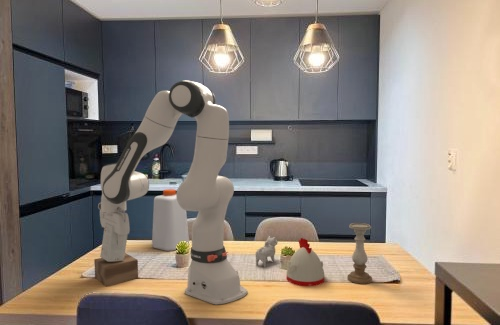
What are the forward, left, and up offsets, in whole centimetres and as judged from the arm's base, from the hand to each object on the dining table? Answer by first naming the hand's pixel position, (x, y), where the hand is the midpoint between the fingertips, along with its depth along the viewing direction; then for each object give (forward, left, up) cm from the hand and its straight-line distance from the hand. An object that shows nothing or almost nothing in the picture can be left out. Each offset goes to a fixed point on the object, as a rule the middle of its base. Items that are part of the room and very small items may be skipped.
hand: (115, 242), depth 139 cm
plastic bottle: (+24, -36, -14) cm, 45 cm away
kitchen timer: (-49, -52, -14) cm, 73 cm away
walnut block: (0, 0, -14) cm, 14 cm away
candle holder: (-63, -66, -14) cm, 92 cm away
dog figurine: (-26, -54, -14) cm, 62 cm away
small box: (0, +1, -6) cm, 6 cm away
